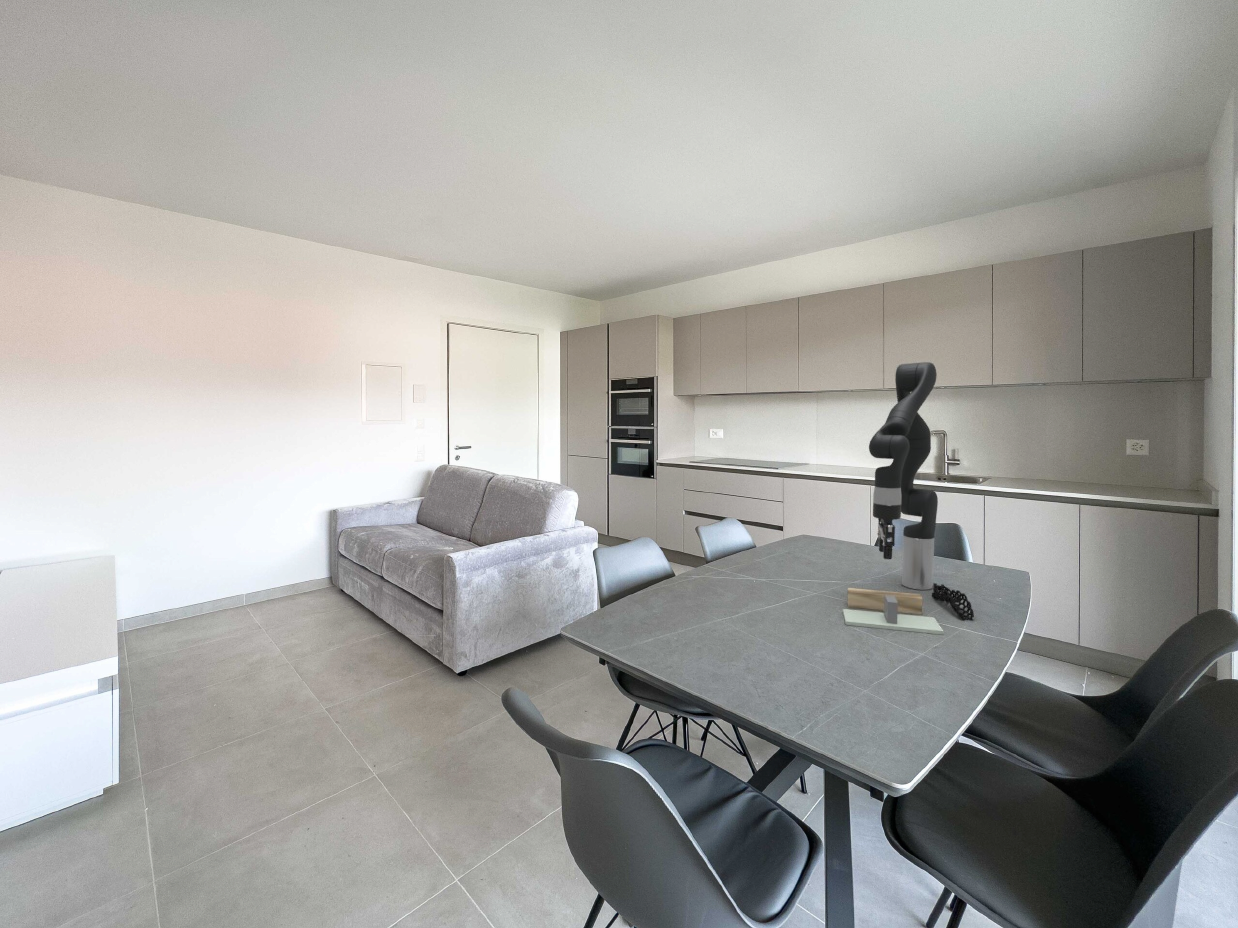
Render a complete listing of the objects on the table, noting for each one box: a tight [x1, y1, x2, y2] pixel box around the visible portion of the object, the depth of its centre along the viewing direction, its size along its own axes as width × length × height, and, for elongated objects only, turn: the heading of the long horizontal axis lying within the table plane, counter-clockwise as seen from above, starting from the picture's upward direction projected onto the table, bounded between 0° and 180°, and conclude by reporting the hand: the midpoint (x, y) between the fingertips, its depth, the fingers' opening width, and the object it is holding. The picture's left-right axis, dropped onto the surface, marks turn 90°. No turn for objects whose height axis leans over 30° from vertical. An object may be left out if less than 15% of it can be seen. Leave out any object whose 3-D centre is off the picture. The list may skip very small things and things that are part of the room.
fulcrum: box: [842, 595, 944, 636], centre depth 151 cm, size 10×24×7 cm, turn 72°
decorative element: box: [931, 583, 975, 621], centre depth 162 cm, size 22×5×6 cm, turn 170°
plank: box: [847, 587, 924, 615], centre depth 162 cm, size 4×20×5 cm, turn 70°
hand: (885, 555), depth 161 cm, fingers open, 8 cm apart
